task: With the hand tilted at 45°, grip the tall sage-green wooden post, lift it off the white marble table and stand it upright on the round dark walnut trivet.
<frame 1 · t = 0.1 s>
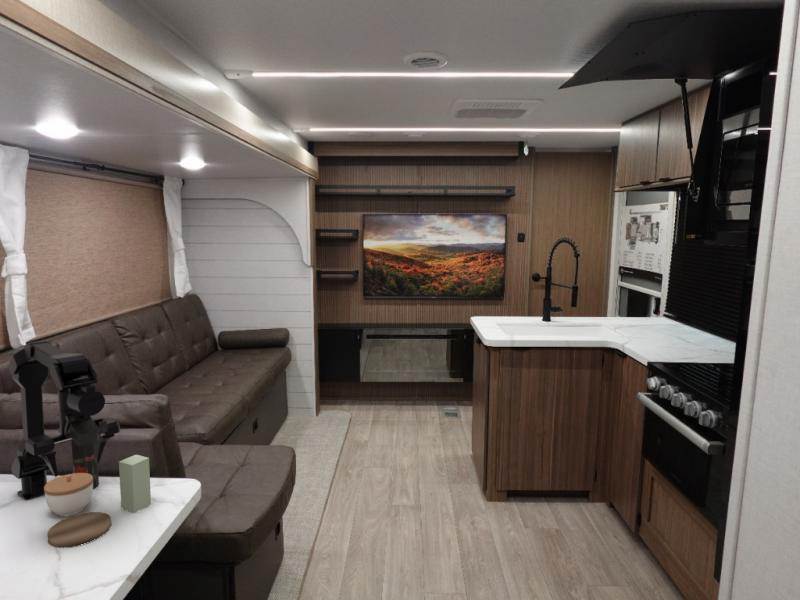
hand: (76, 469, 122), 15 cm above the table, tool pointing down, fingers open, 9 cm apart
trivet: (80, 531, 122), on the table
deodorant: (86, 487, 144), on the table
lidded jar: (70, 510, 131), on the table
post: (136, 506, 133), on the table
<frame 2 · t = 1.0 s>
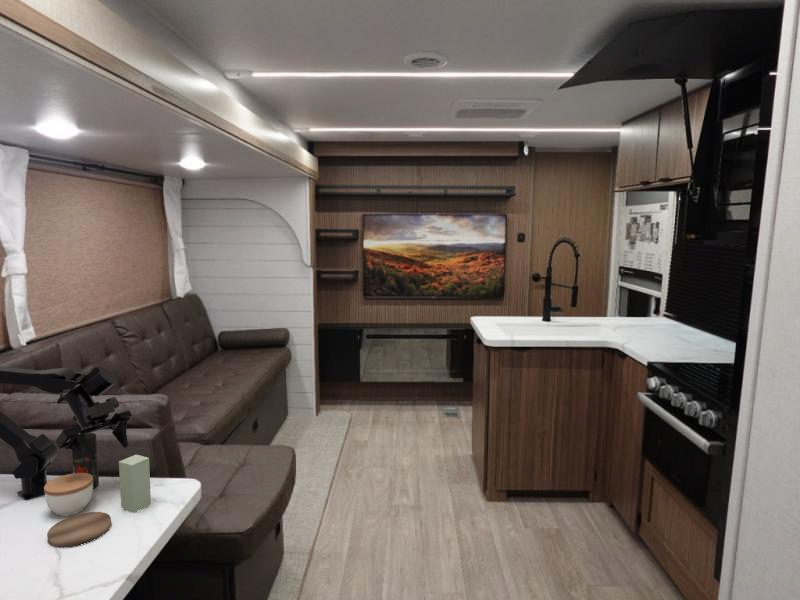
hand: (111, 453, 135), 13 cm above the table, tool tilted 45°, fingers open, 9 cm apart
nothing on the table moved.
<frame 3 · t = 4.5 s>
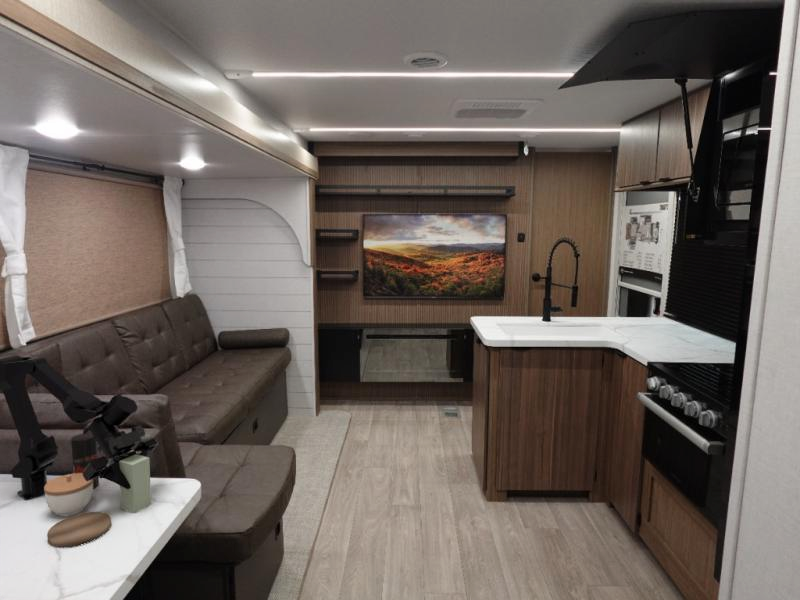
hand: (138, 483, 132), 7 cm above the table, tool tilted 45°, fingers closed on post, 5 cm apart
post: (136, 506, 133), on the table, touching gripper
everything else where it was.
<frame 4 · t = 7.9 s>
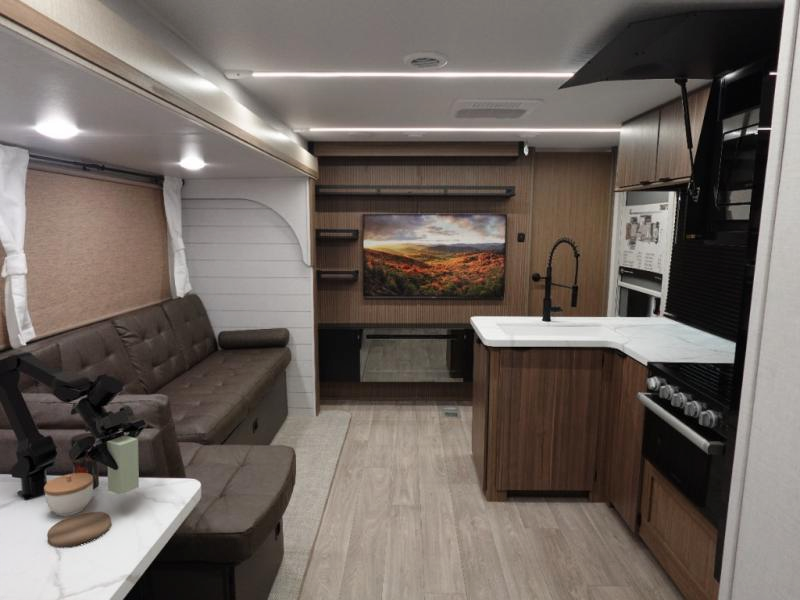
hand: (126, 464, 129), 13 cm above the table, tool tilted 45°, fingers closed on post, 5 cm apart
post: (123, 488, 130), point 6 cm above the table, touching gripper
everything else where it was.
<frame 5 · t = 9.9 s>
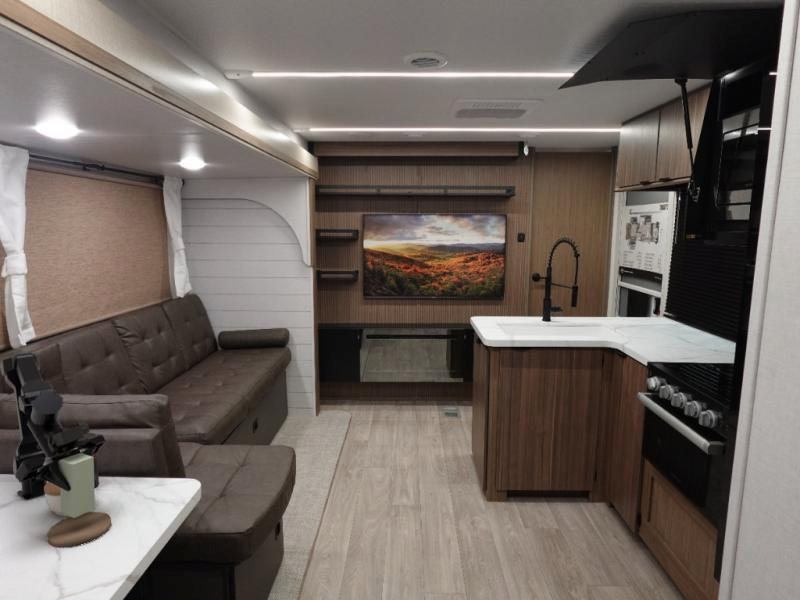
hand: (80, 485, 120), 12 cm above the table, tool tilted 45°, fingers closed on post, 5 cm apart
post: (78, 510, 121), point 5 cm above the table, touching gripper
everything else where it was.
when the fingers open (9 cm above the table, at t = 11.4 s): post drops 1 cm, resting on trivet.
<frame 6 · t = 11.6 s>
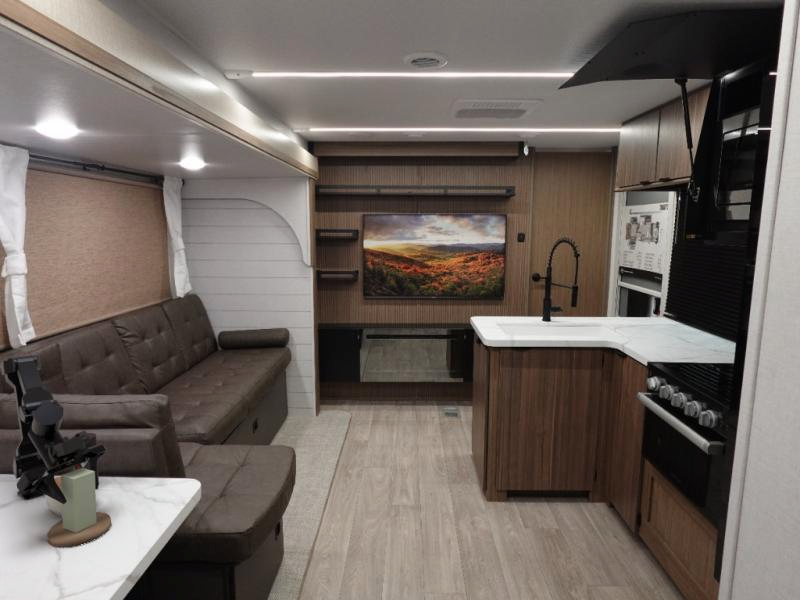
hand: (81, 495, 120), 10 cm above the table, tool tilted 45°, fingers open, 7 cm apart
post: (79, 525, 121), point 2 cm above the table, touching trivet
everything else where it was.
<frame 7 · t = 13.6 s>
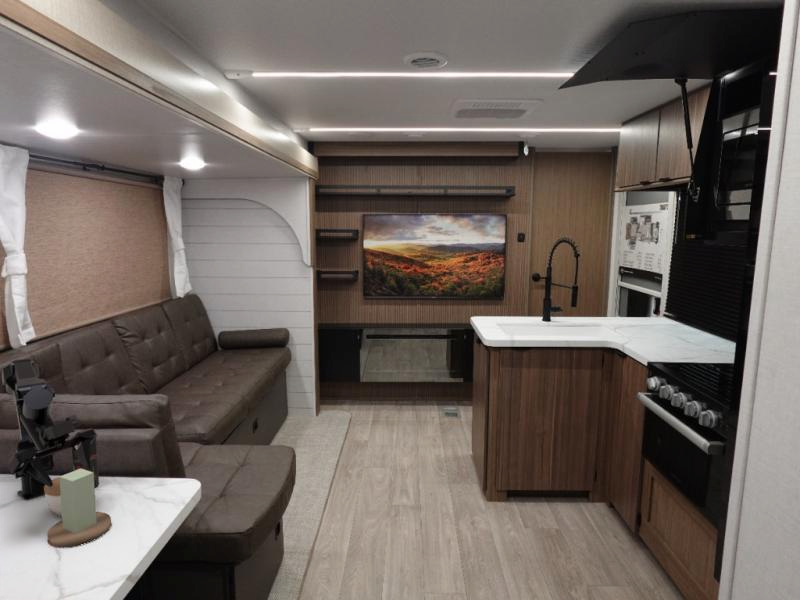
hand: (71, 477, 123), 12 cm above the table, tool tilted 45°, fingers open, 9 cm apart
nothing on the table moved.
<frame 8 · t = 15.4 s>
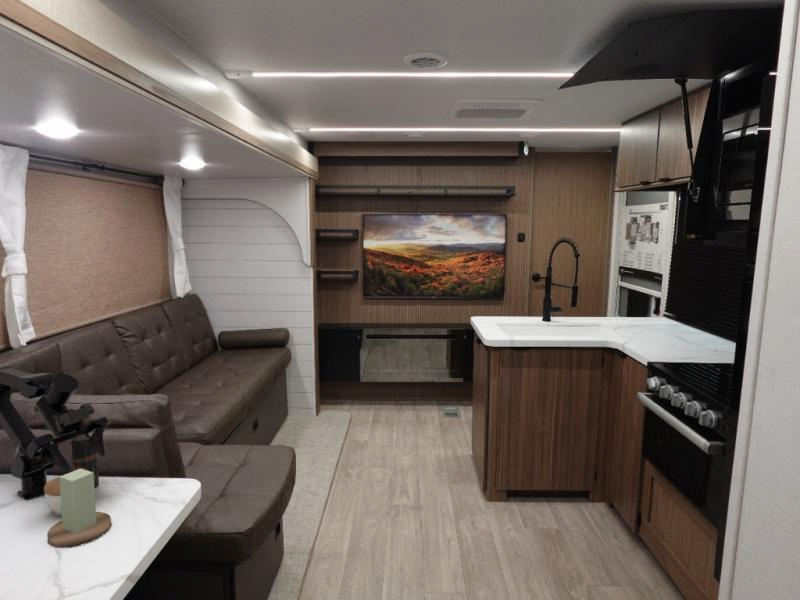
hand: (86, 462, 129), 14 cm above the table, tool tilted 45°, fingers open, 9 cm apart
nothing on the table moved.
at the end: post inside the target area on the trivet (0.0 cm from its centre), point 1.5 cm above the trivet's base; post tilted 0°; post touching trivet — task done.
